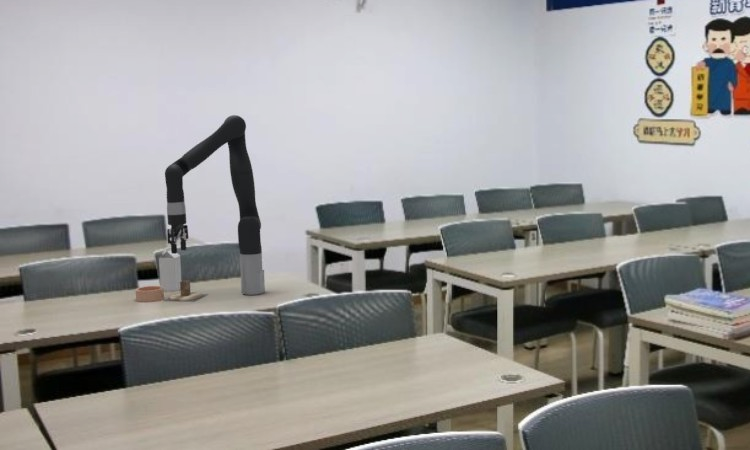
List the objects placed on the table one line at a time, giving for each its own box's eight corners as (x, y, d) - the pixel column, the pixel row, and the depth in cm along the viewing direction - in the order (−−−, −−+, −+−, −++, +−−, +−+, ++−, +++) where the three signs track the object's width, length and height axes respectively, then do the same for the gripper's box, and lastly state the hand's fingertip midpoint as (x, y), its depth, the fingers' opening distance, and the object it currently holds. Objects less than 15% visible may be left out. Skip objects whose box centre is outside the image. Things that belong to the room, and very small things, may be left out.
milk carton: (182, 289, 363) (179, 246, 361) (176, 292, 356) (174, 248, 354) (166, 289, 364) (164, 246, 362) (160, 292, 357) (158, 249, 355)
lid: (206, 294, 347) (205, 278, 346) (194, 301, 334) (193, 284, 333) (178, 294, 349) (177, 277, 348) (164, 300, 337) (163, 283, 336)
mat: (208, 295, 347) (208, 294, 347) (194, 303, 334) (194, 301, 333) (177, 295, 350) (177, 293, 350) (162, 302, 336) (162, 300, 336)
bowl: (168, 297, 345) (167, 286, 344) (156, 303, 334) (155, 291, 334) (144, 297, 347) (143, 285, 346) (131, 303, 336) (130, 291, 336)
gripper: (177, 214, 333) (179, 254, 335) (192, 210, 347) (194, 249, 349) (160, 215, 334) (162, 254, 336) (176, 211, 348) (178, 249, 350)
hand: (179, 251), depth 342 cm, fingers open, 8 cm apart
